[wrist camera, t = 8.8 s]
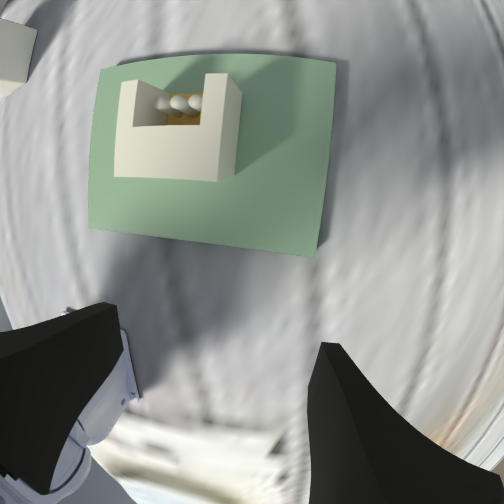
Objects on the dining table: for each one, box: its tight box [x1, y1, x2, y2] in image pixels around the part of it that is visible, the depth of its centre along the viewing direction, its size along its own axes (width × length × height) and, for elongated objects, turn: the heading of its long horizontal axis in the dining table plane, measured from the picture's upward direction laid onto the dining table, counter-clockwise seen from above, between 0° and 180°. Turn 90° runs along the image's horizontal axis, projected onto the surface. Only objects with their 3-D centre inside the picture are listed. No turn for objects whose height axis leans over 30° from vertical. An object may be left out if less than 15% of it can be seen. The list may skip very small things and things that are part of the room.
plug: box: [114, 73, 242, 182], centre depth 13 cm, size 5×6×4 cm
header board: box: [88, 54, 336, 258], centre depth 14 cm, size 12×16×4 cm
